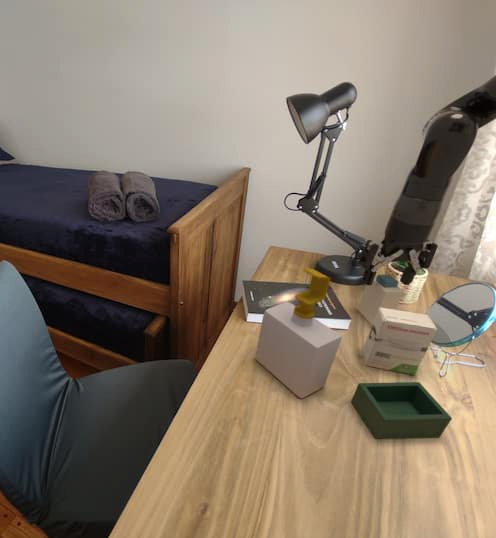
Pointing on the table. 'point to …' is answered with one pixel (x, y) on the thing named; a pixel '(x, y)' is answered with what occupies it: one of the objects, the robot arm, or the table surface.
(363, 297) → the beige teal-capped bottle
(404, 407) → the holder
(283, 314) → the soap bottle
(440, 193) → the robot arm
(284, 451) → the table surface
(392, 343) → the ink box
